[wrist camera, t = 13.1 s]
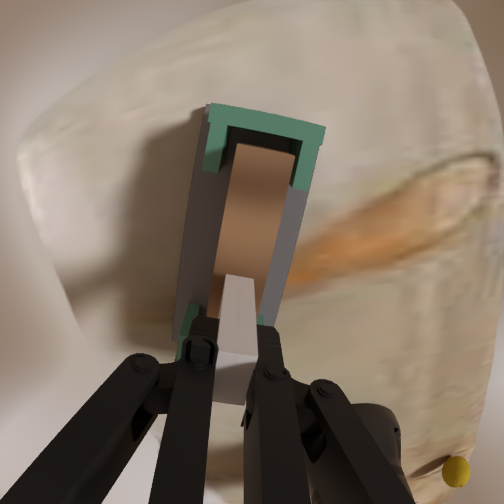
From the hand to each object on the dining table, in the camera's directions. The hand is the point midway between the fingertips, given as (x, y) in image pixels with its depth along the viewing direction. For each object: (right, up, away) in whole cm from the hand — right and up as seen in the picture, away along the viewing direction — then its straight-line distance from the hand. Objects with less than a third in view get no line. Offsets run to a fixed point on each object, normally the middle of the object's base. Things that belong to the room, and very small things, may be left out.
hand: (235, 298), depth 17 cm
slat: (0, +3, +8) cm, 9 cm away
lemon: (+39, -37, +26) cm, 60 cm away
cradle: (0, +3, +10) cm, 10 cm away
